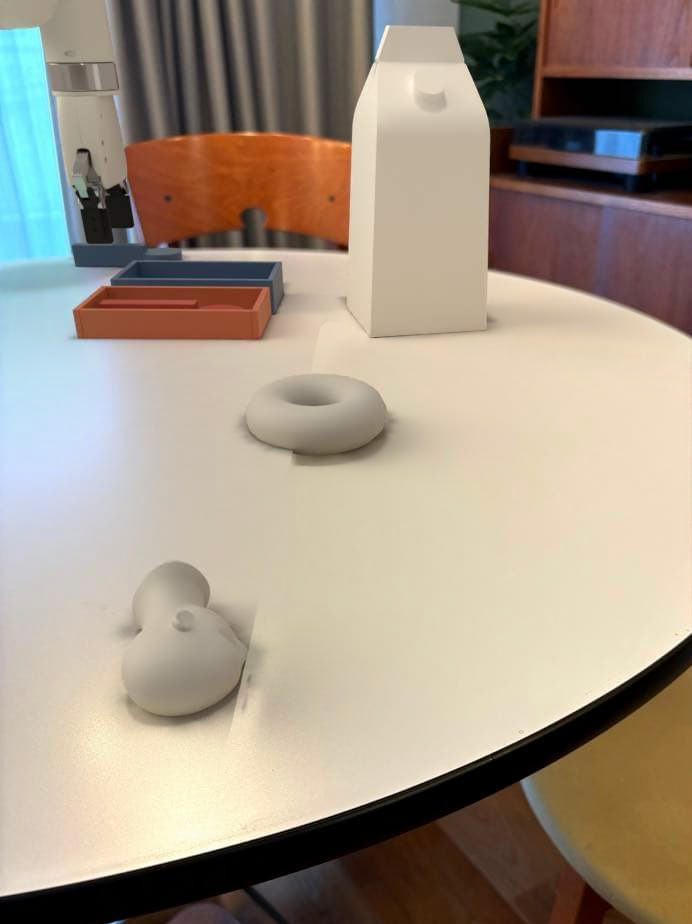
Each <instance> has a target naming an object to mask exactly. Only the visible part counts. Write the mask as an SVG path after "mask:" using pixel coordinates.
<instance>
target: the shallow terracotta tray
mask: <svg viewBox="0 0 692 924" xmlns="http://www.w3.org/2000/svg"><path fill="white" fill-rule="evenodd" d="M99 307H100V309H239V310H244V309H243V308H242V307H239V306H235V305H226V304H219V305H208V306H203V307H200V308H198V301H197V300H103V301H102V302H100V303H99Z"/></svg>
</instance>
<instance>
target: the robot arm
mask: <svg viewBox="0 0 692 924" xmlns="http://www.w3.org/2000/svg"><path fill="white" fill-rule="evenodd" d="M36 28H39V32H40V38H41V43H42V49H43V53H44V58H45V62H46V68H47V73H48V79H49V83H50V88H51V94H52V96H53V97H56V112H57V122H58V123H57V124H58V130H59V139H60V146H61V152H62V158H63V164H64V171H65V177H66V182H67V185H68V186H69V187H70V188H71V189H72V190H75V191H74V192H75V195H76V197H77V204H78V208H79V211H80V212H79V213H80V216H81V221H82V227H83V231H84V237H85V243H88V244H111V243H115V242H114V241H115V239H114V233H113V229H133V228H134V227H135V219H134V214H133V208H132V202H131V195H130V187H129V184H128V183H127V178H128V163H127V156H126V149H125V144H124V140H123V133H122V128H121V124H120V120H119V119H120V118H119V114H118V109H117V106H116V102H115V97H114V96H119V95H121V90H120V84H119V79H118V72H117V65H116V60H115V59H116V58H115V52H114V47H113V41H112V40H113V39H112V34H111V33H112V32H111V28H110V21H109V15H108V9H107V3H106V0H0V31H1V30H2V31H11V30H17V29H18V30H22V29H24V30H25V29H26V30H27V29H36ZM96 192H97V193H96Z"/></svg>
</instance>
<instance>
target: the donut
mask: <svg viewBox="0 0 692 924" xmlns="http://www.w3.org/2000/svg"><path fill="white" fill-rule="evenodd" d="M387 414H388V409H387V405H386V403H385V400H384V399H383V397H382V395H381V394H380V392H379V391H378V390H377V389H376V388H375V387H373V386H372V385H371V384H368V383H367V382H365V381H362V380H360V379H358V378H357V379H356V378H355V377H350V376H347V375H341V374H334V373H303V374H295V375H290V376H286V377H281V378H279V379H275V380H273V381H270V382H267V383H266V384H264V385H262V386H261V387H259V388H257V390H256V391H255V392H254V393H253V394H252V396H251V397H250V399H249V400H248V402H247V404H246V407H245V417H246V422H247V427H248V430H249V431H250V433H251V434H253V435H254V436H255V438H257V439H258V440H259V441H260V442H261V441H262V442H264V443H266V444H269V445H271V446H274V447H278V448H283V449H289V450H292V455H299V456H314V457H315V456H328V455H329V456H330V455H336V454H341V453H346V452H349V451H354V450H356V449H358V448H361V447H363V446H365V445H368V444H369V443H370V442H371V441H373V439H375V438H376V437H377V436H378V435H380V433H382V430H383V428H384V426H385V423H386V419H387Z"/></svg>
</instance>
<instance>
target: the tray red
mask: <svg viewBox="0 0 692 924" xmlns="http://www.w3.org/2000/svg"><path fill="white" fill-rule="evenodd" d="M103 300H197V301H198V308H200V307H203V306H208V305H219V304H226V305H235V306H239V307H242V308H243V309H244V310H239V309H100V307H99V303H100V302H102V301H103ZM72 315H73V320H74V325H75V326H74V327H75V331H76V336H77V339H97V340H98V339H102V340H103V339H105V340H107V339H109V340H110V339H114V340H115V339H116V340H118V339H119V340H120V339H121V340H129V339H130V340H261V338H262V336H263V334H264V331H265V328H266V326H267V324H268V322H269V320H270V317H271V316H272V314H271V302H270V288H269V287H203V286H111V285H101V286H100V287H99V288H97V289H96V290H95V291H94V292H92V293H91V294H90V295H89V296H88V297H86V298H85V299H84V300H83V301H82V302H80V303H79V304H77V306H75V307H74V308H73V309H72Z"/></svg>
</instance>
